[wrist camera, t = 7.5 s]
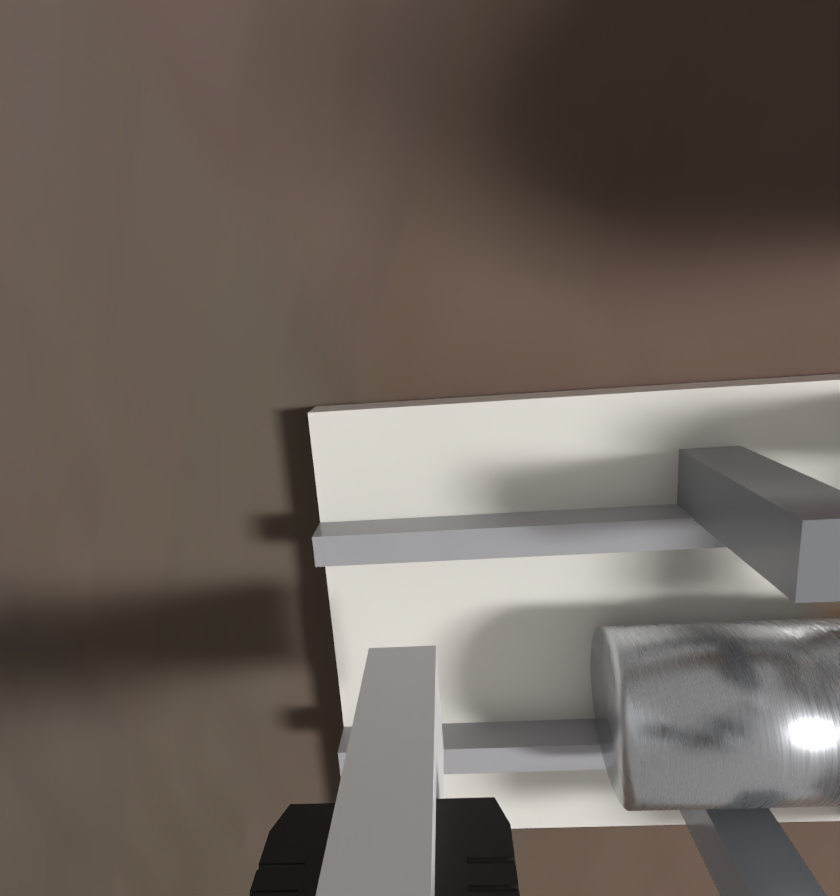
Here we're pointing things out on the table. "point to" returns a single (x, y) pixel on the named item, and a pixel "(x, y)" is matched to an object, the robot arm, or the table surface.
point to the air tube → (719, 713)
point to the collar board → (577, 570)
